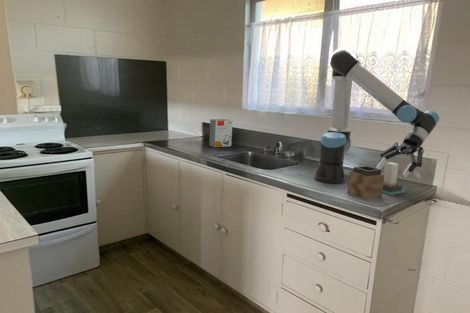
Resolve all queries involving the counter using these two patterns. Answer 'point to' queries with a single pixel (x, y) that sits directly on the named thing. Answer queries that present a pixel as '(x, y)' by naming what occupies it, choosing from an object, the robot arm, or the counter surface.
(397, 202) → the counter surface
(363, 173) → the wooden planter box
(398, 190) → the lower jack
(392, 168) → the plug
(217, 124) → the hard drive box
